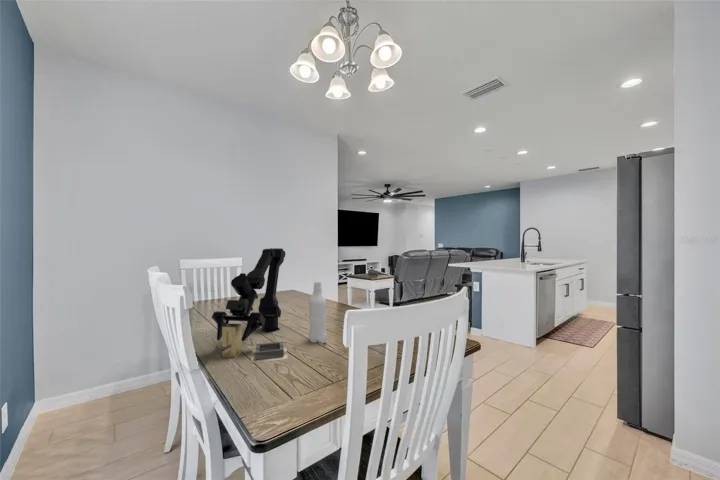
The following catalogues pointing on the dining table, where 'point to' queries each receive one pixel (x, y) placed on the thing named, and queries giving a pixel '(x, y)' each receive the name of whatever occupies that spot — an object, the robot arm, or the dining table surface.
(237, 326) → the brass link
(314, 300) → the water bottle
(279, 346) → the grey square tray
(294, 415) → the dining table surface
